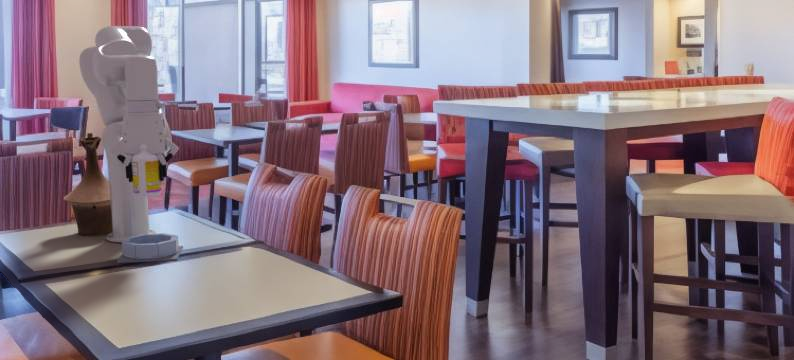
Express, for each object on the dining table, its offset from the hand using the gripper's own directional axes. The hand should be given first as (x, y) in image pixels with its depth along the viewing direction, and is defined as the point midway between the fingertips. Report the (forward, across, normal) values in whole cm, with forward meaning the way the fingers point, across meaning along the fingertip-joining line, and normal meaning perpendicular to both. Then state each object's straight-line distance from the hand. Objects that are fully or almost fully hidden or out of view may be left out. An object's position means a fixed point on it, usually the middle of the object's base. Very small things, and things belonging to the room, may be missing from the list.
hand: (146, 180), depth 201 cm
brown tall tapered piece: (+19, +19, -31) cm, 41 cm away
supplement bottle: (+4, 0, 0) cm, 4 cm away
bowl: (+18, 0, 0) cm, 18 cm away
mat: (+19, 0, 0) cm, 19 cm away
